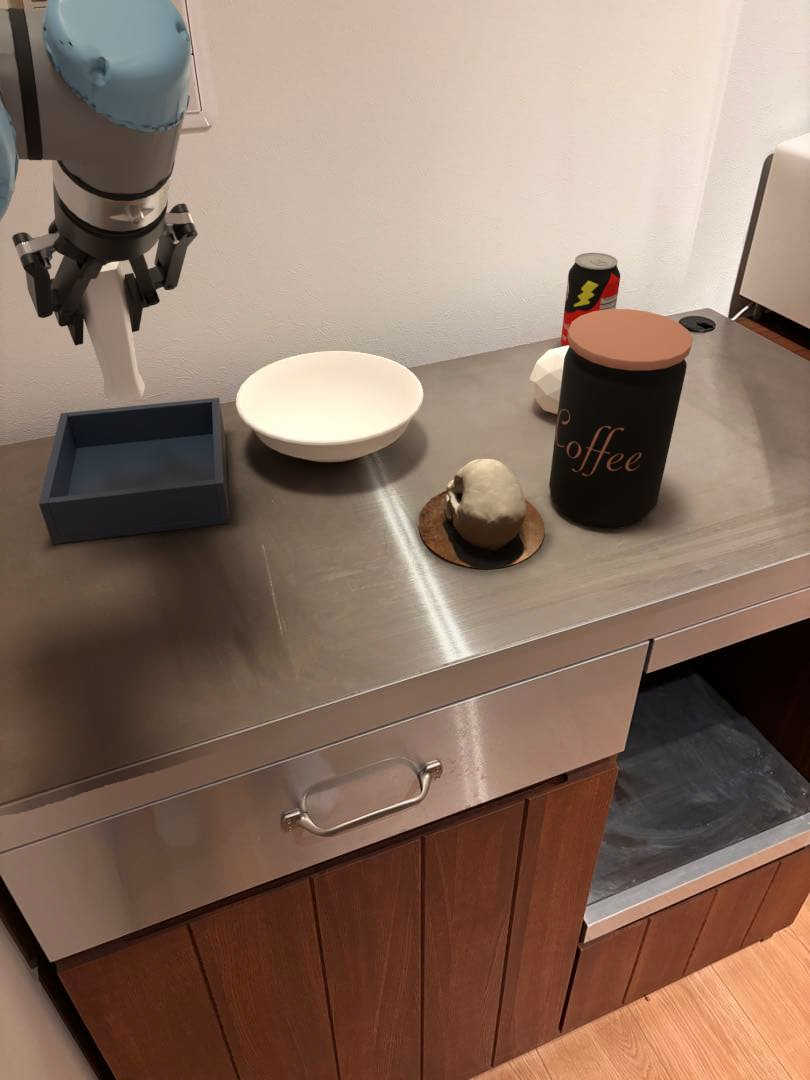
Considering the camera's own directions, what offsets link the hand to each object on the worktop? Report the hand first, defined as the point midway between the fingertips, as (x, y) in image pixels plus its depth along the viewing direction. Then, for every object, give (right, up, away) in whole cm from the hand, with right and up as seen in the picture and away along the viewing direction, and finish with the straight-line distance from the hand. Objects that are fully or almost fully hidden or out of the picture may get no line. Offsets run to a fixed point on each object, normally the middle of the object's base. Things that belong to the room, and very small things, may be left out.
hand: (102, 324), depth 80 cm
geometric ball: (+46, -5, +20) cm, 51 cm away
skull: (+36, -19, +3) cm, 41 cm away
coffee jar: (+48, -16, +6) cm, 51 cm away
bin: (+1, -14, +9) cm, 17 cm away
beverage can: (+52, +4, +32) cm, 61 cm away
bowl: (+20, -10, +15) cm, 27 cm away
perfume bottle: (+2, -6, +1) cm, 7 cm away
